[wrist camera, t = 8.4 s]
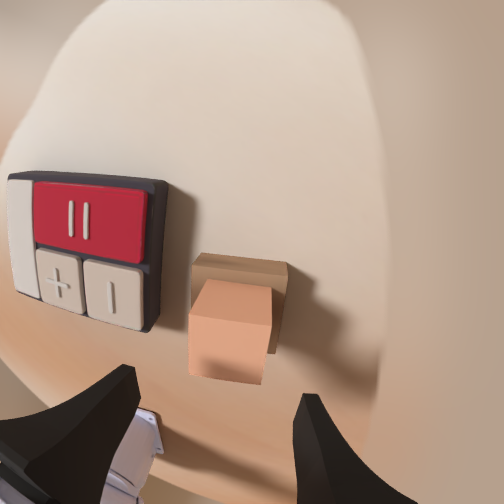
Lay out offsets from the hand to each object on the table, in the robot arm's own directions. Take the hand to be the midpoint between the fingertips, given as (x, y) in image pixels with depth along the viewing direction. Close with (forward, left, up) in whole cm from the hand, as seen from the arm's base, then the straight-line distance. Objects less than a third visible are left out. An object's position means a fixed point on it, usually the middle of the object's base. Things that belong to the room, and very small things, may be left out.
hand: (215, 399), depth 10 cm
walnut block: (0, 0, -11) cm, 11 cm away
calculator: (+3, +14, -11) cm, 18 cm away
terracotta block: (0, 0, -8) cm, 8 cm away
